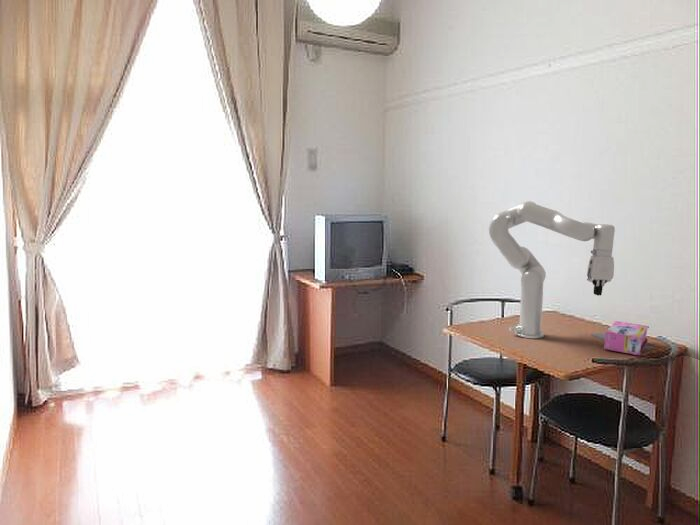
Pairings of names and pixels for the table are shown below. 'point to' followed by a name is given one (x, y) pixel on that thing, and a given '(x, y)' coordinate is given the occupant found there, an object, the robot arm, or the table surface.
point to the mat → (602, 336)
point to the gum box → (626, 337)
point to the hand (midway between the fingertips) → (597, 294)
